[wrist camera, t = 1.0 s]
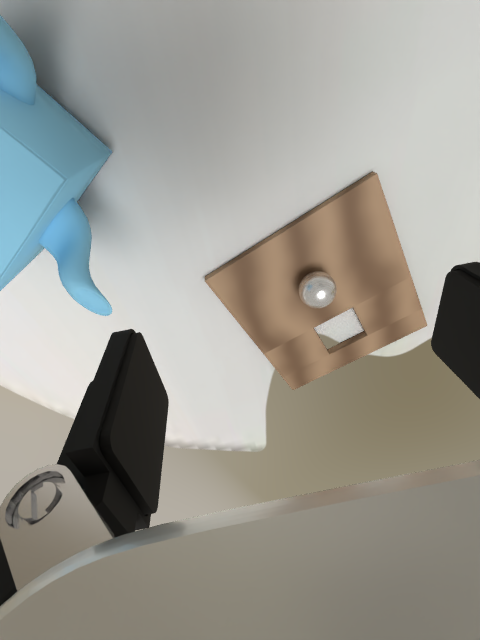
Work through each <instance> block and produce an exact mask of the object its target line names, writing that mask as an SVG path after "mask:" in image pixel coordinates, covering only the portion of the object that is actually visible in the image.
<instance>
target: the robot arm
mask: <svg viewBox="0 0 480 640" xmlns="http://www.w3.org/2000/svg"><path fill="white" fill-rule="evenodd" d="M431 346H432V349H433V351H434V352H435V354H436V355H437V356H438V357H439V358H440V359H441V360H442V361H443V362H444V363H445V364H446V365H447V366H448V367H449V368H450V369H451V370H452V371H453V372H454V373H455V374H456V375H457V376H458V377H459V378H460V379H461V380H462V381H463V382H464V383H465V384H466V385H467V386H468V388H470V390H472V391H473V393H474V394H475V395H476V396H477V397H478V398H479V399H480V263H479V262H472V263H467V264H462V265H456V266H454V267H453V268H452V269H451V272H449V273H448V274H447V275H446V278H445V283H444V287H443V292H442V296H441V300H440V305H439V309H438V314H437V318H436V323H435V327H434V332H433V336H432V340H431ZM167 414H168V396H167V393H166V390H165V388H164V385H163V383H162V381H161V378H160V376H159V374H158V371H157V369H156V366H155V364H154V362H153V359H152V357H151V354H150V352H149V350H148V347H147V345H146V343H145V340H144V338H143V336H142V334H141V333H140V332H139V333H135V331H134V330H133V329H129V330H124V331H119V332H114V333H112V335H111V337H110V340H109V342H108V345H107V347H106V350H105V352H104V355H103V357H102V360H101V363H100V365H99V368H98V370H97V373H96V375H95V378H94V380H93V381H92V382H91V383H90V384H89V386H88V388H87V391H86V393H85V395H84V398H83V400H82V403H81V405H80V408H79V410H78V413H77V415H76V418H75V420H74V423H73V425H72V428H71V430H70V433H69V435H68V438H67V440H66V442H65V445H64V447H63V450H62V453H61V455H60V457H59V460H58V462H57V464H55V465H47V466H45V467H42V468H39V469H37V470H35V471H34V472H32V473H30V474H29V475H27V476H26V477H24V478H23V479H22V480H21V481H20V482H18V483H17V484H16V485H15V486H14V488H13V489H12V490H11V491H10V492H9V493H8V494H7V496H6V497H5V499H4V501H3V503H2V504H1V506H0V640H480V460H477V461H472V462H468V463H462V464H457V465H452V466H447V467H441V468H437V469H431V470H426V471H421V472H415V473H411V474H405V475H400V476H395V477H390V478H385V479H380V480H375V481H369V482H365V483H359V484H354V485H349V486H344V487H339V488H334V489H329V490H324V491H319V492H314V493H309V494H304V495H299V496H294V497H289V498H285V499H279V500H274V501H269V502H264V503H259V504H255V505H249V506H245V507H239V508H234V509H229V510H225V511H220V512H216V513H212V514H207V515H202V516H197V517H193V518H188V519H184V520H179V521H175V522H170V523H166V524H161V525H157V526H154V527H150V528H149V525H150V517H151V514H152V513H155V512H156V511H157V507H158V499H159V489H160V480H161V471H162V470H161V469H162V460H163V451H164V442H165V433H166V423H167ZM145 528H146V529H145ZM140 529H143V530H140ZM135 530H139V531H135Z"/></svg>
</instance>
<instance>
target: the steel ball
mask: <svg viewBox="0 0 480 640" xmlns="http://www.w3.org/2000/svg"><path fill="white" fill-rule="evenodd" d="M336 292H337V287H336V283H335V281H334V279H333V278H332V277H331V276H330V275H329V274H327V273H325V272H321V271H316V272H312V273H309V274H308V275H306V276H305V277H304V278H303V279H302V281H301V283H300V285H299V295H300V298H301V300H302V301H303V302H304V303H305V304H306V305H308V306H309V307H312V308H323V307H325V306H327V305H329V304H330V303H331V302H332V301H333V300H334V298H335V296H336Z"/></svg>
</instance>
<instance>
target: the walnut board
mask: <svg viewBox="0 0 480 640" xmlns="http://www.w3.org/2000/svg"><path fill="white" fill-rule="evenodd" d="M316 271H321V272H325V273H327V274H329V275H330V276H331V277H332V278H333V279H334V281H335V283H336V287H337V292H336V296H335V298H334V300H333V301H332V302H331V303H330V304H329V305H327V306H325V307H323V308H312V307H309V306H308V305H306V304H305V303H304V302H303V301H302V300H301V298H300V295H299V285H300V283H301V281H302V279H303V278H304V277H305V276H306V275H308V274H309V273H312V272H316ZM205 282H206V283H207V284H208V286H209V287H210V288H211V289H212V291H213V292H214V293H215V294H216V296H217V297H218V298H219V299H220V300H221V302H222V303H223V304H224V305H225V307H226V308H227V309H228V310H229V312H230V313H231V314H232V315H233V317H234V318H235V319H236V320H237V322H238V323H239V324H240V325H241V327H242V328H243V329H244V330H245V331H246V333H247V334H248V335H249V336H250V338H251V339H252V340H253V341H254V343H255V344H256V345H257V346H258V348H259V349H260V350H261V351H262V353H263V354H264V355H265V356H266V357H267V359H268V360H269V361H270V362H271V364H272V365H273V366H274V367H275V369H276V370H277V371H278V372H279V373H280V375H281V376H282V377H283V378H284V380H285V381H286V382H287V383H288V385H289V386H290V387H291V388H292V390H294V389H296V388H299V387H301V386H303V385H305V384H307V383H309V382H311V381H313V380H315V379H317V378H319V377H321V376H323V375H325V374H328V373H330V372H332V371H334V370H336V369H338V368H340V367H342V366H344V365H346V364H348V363H351V362H353V361H355V360H357V359H359V358H361V357H363V356H365V355H367V354H369V353H371V352H373V351H376V350H378V349H380V348H382V347H384V346H386V345H388V344H390V343H392V342H394V341H396V340H398V339H401V338H403V337H405V336H407V335H409V334H411V333H413V332H415V331H417V330H419V329H421V328H423V327H426V326H427V323H426V320H425V317H424V314H423V311H422V308H421V305H420V302H419V299H418V296H417V293H416V289H415V286H414V283H413V280H412V277H411V274H410V271H409V268H408V265H407V262H406V259H405V256H404V253H403V250H402V247H401V244H400V241H399V238H398V235H397V232H396V229H395V226H394V223H393V220H392V217H391V214H390V211H389V208H388V205H387V202H386V199H385V196H384V193H383V190H382V187H381V184H380V181H379V178H378V175H377V173H374V172H371V173H370V174H368V175H366V176H365V177H363V178H362V179H360V180H358V181H357V182H355V183H354V184H352V185H350V186H349V187H347V188H346V189H344V190H343V191H341V192H339V193H338V194H336V195H335V196H333V197H331V198H330V199H328V200H327V201H325V202H323V203H322V204H320V205H319V206H317V207H315V208H314V209H312V210H311V211H309V212H307V213H306V214H304V215H303V216H301V217H299V218H298V219H296V220H295V221H293V222H291V223H290V224H288V225H287V226H285V227H283V228H282V229H280V230H279V231H277V232H275V233H274V234H272V235H271V236H269V237H268V238H266V239H264V240H263V241H261V242H260V243H258V244H256V245H255V246H253V247H252V248H250V249H248V250H247V251H245V252H244V253H242V254H240V255H239V256H237V257H236V258H234V259H232V260H231V261H229V262H228V263H226V264H224V265H223V266H221V267H220V268H218V269H216V270H215V271H213V272H212V273H210V274H208V275H207V276H205ZM352 307H353V309H354V311H355V313H356V315H357V317H358V319H359V321H360V323H361V325H362V327H363V329H364V332H362V333H360V334H358V335H356V336H354V337H352V338H350V339H348V340H346V341H344V342H342V343H340V344H338V345H336V346H334V347H332V348H330V349H328V350H327V349H326V347H325V346H324V344H323V342H322V341H321V339H320V337H319V336H318V334H317V332H316V331H315V329H314V327H316V326H318V325H320V324H322V323H324V322H326V321H328V320H330V319H331V318H333V317H335V316H337V315H339V314H341V313H343V312H345V311H347V310H349V309H350V308H352Z"/></svg>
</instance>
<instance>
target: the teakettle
mask: <svg viewBox="0 0 480 640" xmlns="http://www.w3.org/2000/svg"><path fill="white" fill-rule="evenodd" d="M111 153H112V151H111V150H110V149H109V148H108V147H107V146H106V145H104V144H103V143H102V142H101V141H100V140H99V139H98V138H97V137H95V136H94V135H93V134H92V133H91V132H90V131H89V130H88V129H87V128H85V127H84V126H83V125H82V124H81V123H80V122H79V121H78V120H76V119H75V118H74V117H73V116H72V115H71V114H70V113H69V112H67V111H66V110H65V109H64V108H63V107H62V106H61V105H60V104H59V103H57V102H56V101H55V100H54V99H53V98H52V97H51V96H50V95H48V94H47V93H46V92H45V91H44V90H43V89H42V88H41V87H39V86H38V85H37V84H36V73H35V69H34V65H33V61H32V59H31V57H30V55H29V53H28V51H27V49H26V48H25V46H24V44H23V43H22V41H21V40H20V39H19V37H18V36H17V35H16V33H15V32H14V31H13V29H12V28H11V27H10V26H9V25H8V23H7V22H6V21H5V20H4V19H3V18H2V16H1V15H0V291H1V290H2V289H3V288H4V287H5V286H6V285H7V284H8V283H9V282H10V281H11V280H12V279H13V278H14V277H15V276H16V275H17V274H18V273H19V272H21V271H22V270H23V269H24V268H25V267H26V266H27V265H28V264H29V263H30V262H31V261H32V260H33V259H34V258H35V257H36V256H37V255H38V254H39V253H40V252H41V251H42V250H43V249H44V248H46V249H47V250H48V251H49V252H50V253H51V254H52V255H53V257H54V258H55V259H56V261H57V264H58V271H59V276H60V279H61V282H62V284H63V286H64V287H65V289H66V290H67V292H68V293H69V294H70V295H71V297H72V298H73V299H74V300H75V301H77V302H78V303H79V304H80V305H82V306H83V307H85V308H86V309H88V310H90V311H92V312H94V313H96V314H99V315H103V316H108V315H110V314H111V313H112V308H111V306H110V304H109V302H108V301H107V300H106V298H105V297H104V296H103V295H102V294H101V292H100V291H99V290H98V289H97V287H96V286H95V284H94V282H93V280H92V278H91V276H90V271H89V257H90V249H91V238H92V236H91V228H90V225H89V222H88V219H87V217H86V215H85V214H84V212H83V210H82V209H81V207H80V206H79V205H78V203H77V201H78V200H79V198H80V197H81V195H82V194H83V193H84V191H85V190H86V188H87V187H88V186H89V184H90V183H91V181H92V180H93V178H94V177H95V176H96V174H97V173H98V171H99V170H100V169H101V167H102V166H103V164H104V163H105V162H106V160H107V159H108V157H109V156H110V154H111Z"/></svg>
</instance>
